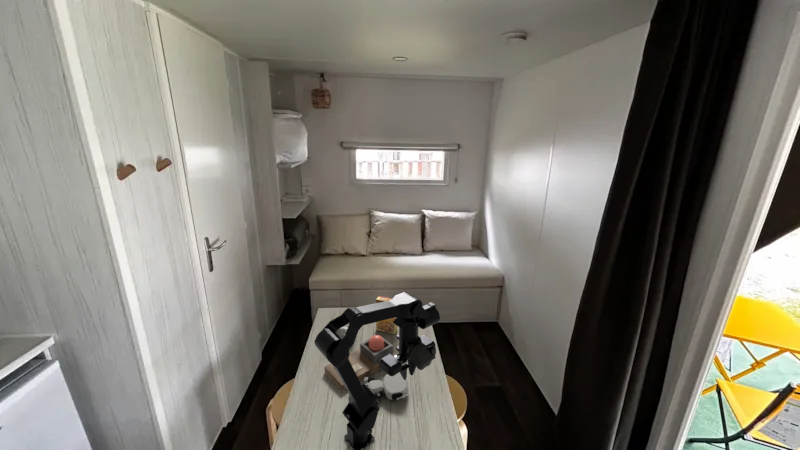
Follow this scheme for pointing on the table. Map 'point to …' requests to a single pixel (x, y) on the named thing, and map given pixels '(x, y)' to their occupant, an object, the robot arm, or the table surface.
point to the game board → (361, 362)
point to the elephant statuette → (342, 331)
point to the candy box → (386, 324)
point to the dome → (376, 343)
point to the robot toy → (388, 386)
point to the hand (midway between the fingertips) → (407, 376)
